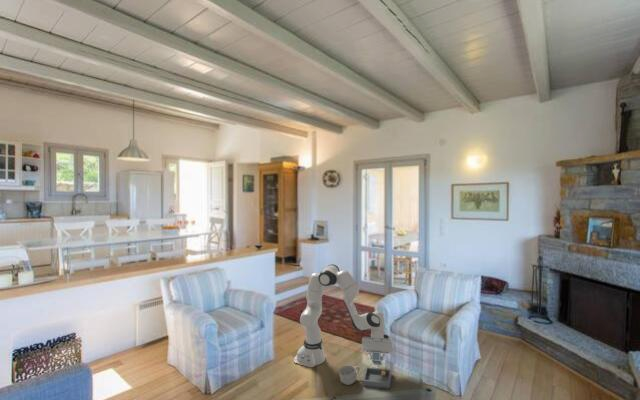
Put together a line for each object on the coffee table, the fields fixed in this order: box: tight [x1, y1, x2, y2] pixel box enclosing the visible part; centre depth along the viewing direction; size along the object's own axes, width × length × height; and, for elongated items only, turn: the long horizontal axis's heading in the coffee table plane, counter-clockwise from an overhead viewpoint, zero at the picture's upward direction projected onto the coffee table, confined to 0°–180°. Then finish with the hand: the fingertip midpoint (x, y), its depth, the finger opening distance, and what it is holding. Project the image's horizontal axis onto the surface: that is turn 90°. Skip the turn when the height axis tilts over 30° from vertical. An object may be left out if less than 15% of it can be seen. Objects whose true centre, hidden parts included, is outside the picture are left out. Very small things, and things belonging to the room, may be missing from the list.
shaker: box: [371, 352, 383, 366], centre depth 201 cm, size 5×5×10 cm
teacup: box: [338, 364, 360, 386], centre depth 199 cm, size 14×11×8 cm
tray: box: [362, 366, 393, 390], centre depth 198 cm, size 16×14×4 cm
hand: (376, 359), depth 200 cm, fingers closed on shaker, 5 cm apart
